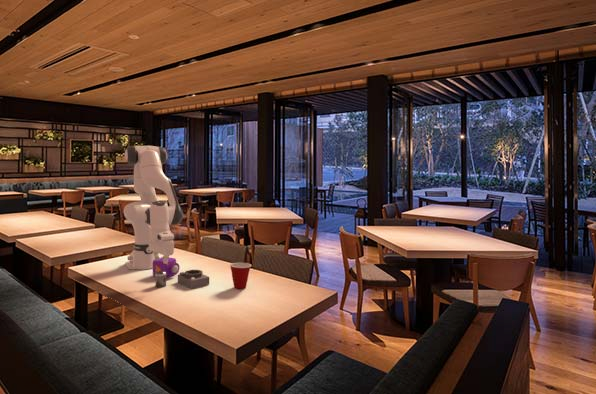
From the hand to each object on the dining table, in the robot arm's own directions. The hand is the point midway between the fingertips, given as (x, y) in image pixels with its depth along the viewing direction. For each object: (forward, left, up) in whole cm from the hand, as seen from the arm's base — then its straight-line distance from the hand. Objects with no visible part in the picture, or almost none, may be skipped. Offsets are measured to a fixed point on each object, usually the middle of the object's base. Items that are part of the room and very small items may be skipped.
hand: (161, 261), depth 184 cm
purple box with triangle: (-15, +10, -13) cm, 22 cm away
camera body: (+6, +14, -12) cm, 20 cm away
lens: (-1, 0, -12) cm, 12 cm away
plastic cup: (+28, +28, -13) cm, 41 cm away
